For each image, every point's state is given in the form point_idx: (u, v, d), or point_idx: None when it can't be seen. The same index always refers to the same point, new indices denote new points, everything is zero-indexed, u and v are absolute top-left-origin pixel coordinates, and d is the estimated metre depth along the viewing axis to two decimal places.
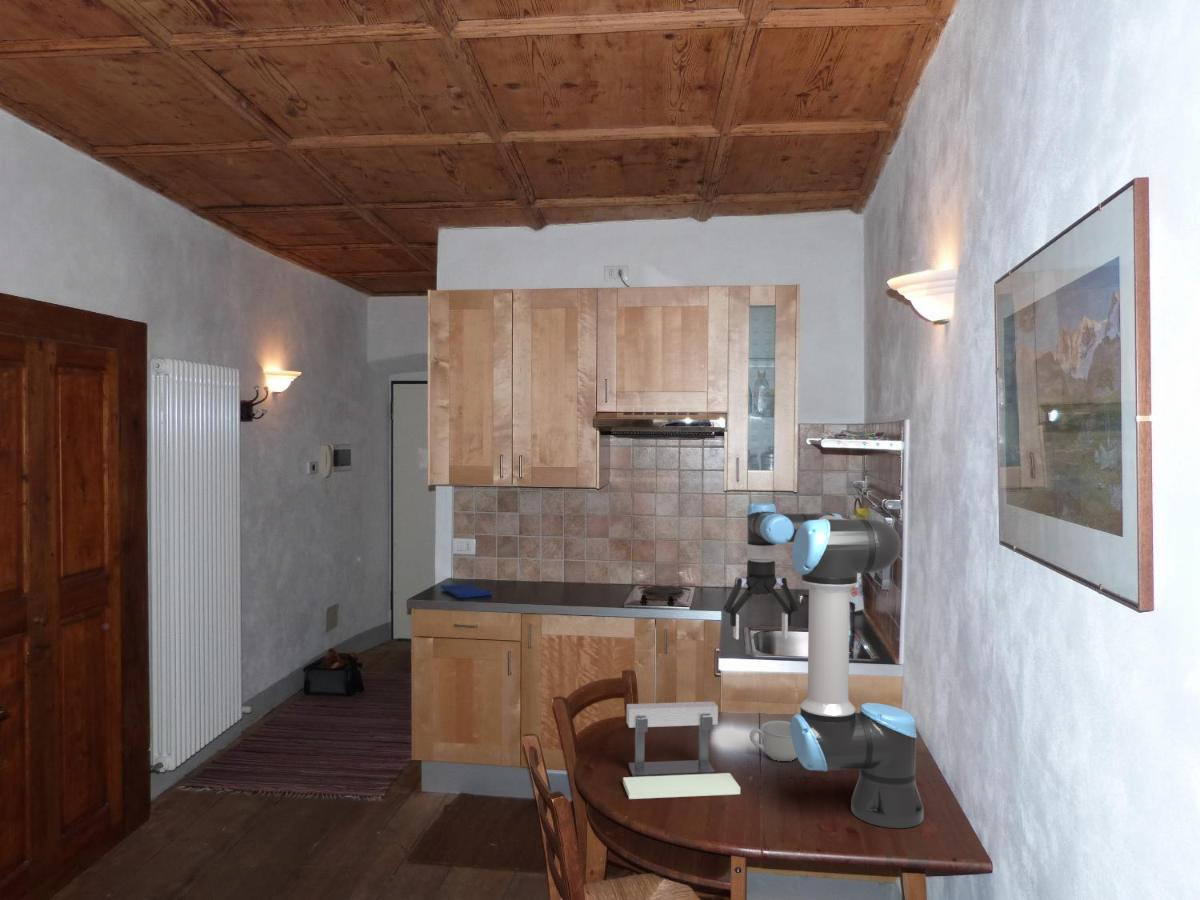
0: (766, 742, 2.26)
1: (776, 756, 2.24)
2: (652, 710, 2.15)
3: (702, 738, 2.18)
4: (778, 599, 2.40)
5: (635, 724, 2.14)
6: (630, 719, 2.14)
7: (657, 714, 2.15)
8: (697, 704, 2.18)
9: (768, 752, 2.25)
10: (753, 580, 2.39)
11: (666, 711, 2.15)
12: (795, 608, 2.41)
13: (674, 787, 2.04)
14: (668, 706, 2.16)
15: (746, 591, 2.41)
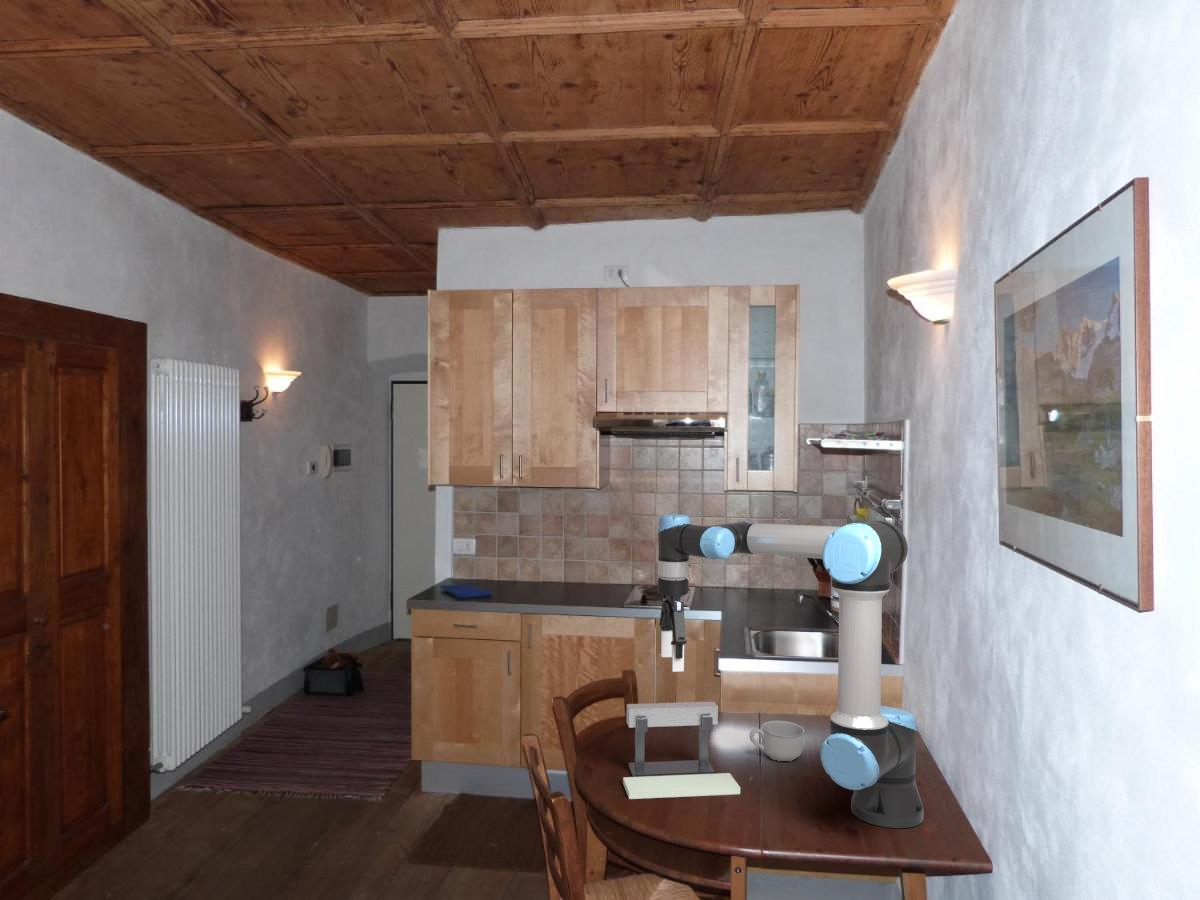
0: (766, 742, 2.26)
1: (776, 756, 2.24)
2: (652, 710, 2.15)
3: (702, 738, 2.18)
4: (671, 624, 2.13)
5: (635, 724, 2.14)
6: (630, 719, 2.14)
7: (657, 714, 2.15)
8: (697, 704, 2.18)
9: (768, 752, 2.25)
10: (666, 597, 2.20)
11: (666, 711, 2.15)
12: (675, 640, 2.08)
13: (674, 787, 2.04)
14: (668, 706, 2.16)
15: None
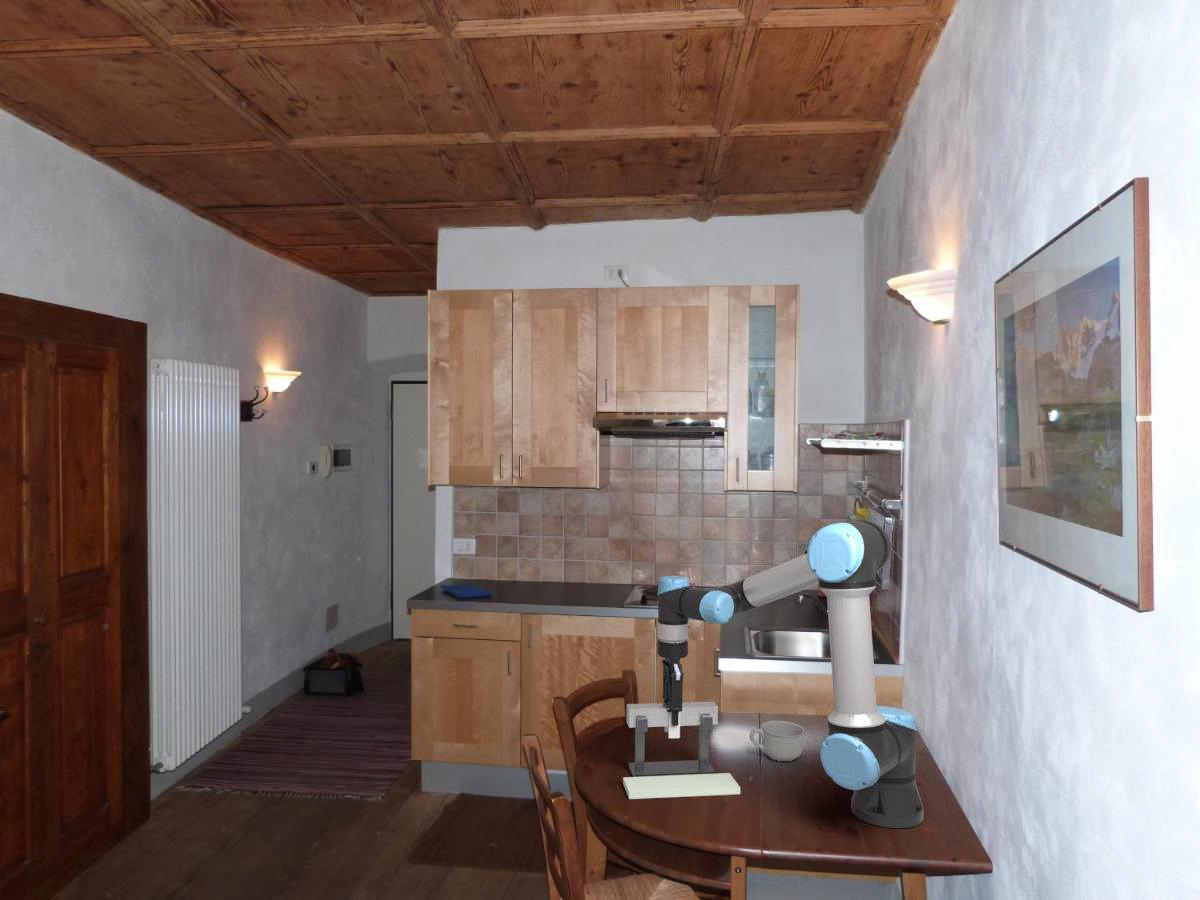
0: (766, 742, 2.26)
1: (776, 756, 2.24)
2: (652, 710, 2.15)
3: (702, 738, 2.18)
4: (669, 689, 2.15)
5: (635, 724, 2.14)
6: (630, 719, 2.14)
7: (657, 714, 2.15)
8: (697, 704, 2.18)
9: (768, 752, 2.25)
10: (666, 657, 2.20)
11: (666, 711, 2.15)
12: (671, 708, 2.12)
13: (674, 787, 2.04)
14: (668, 706, 2.16)
15: None
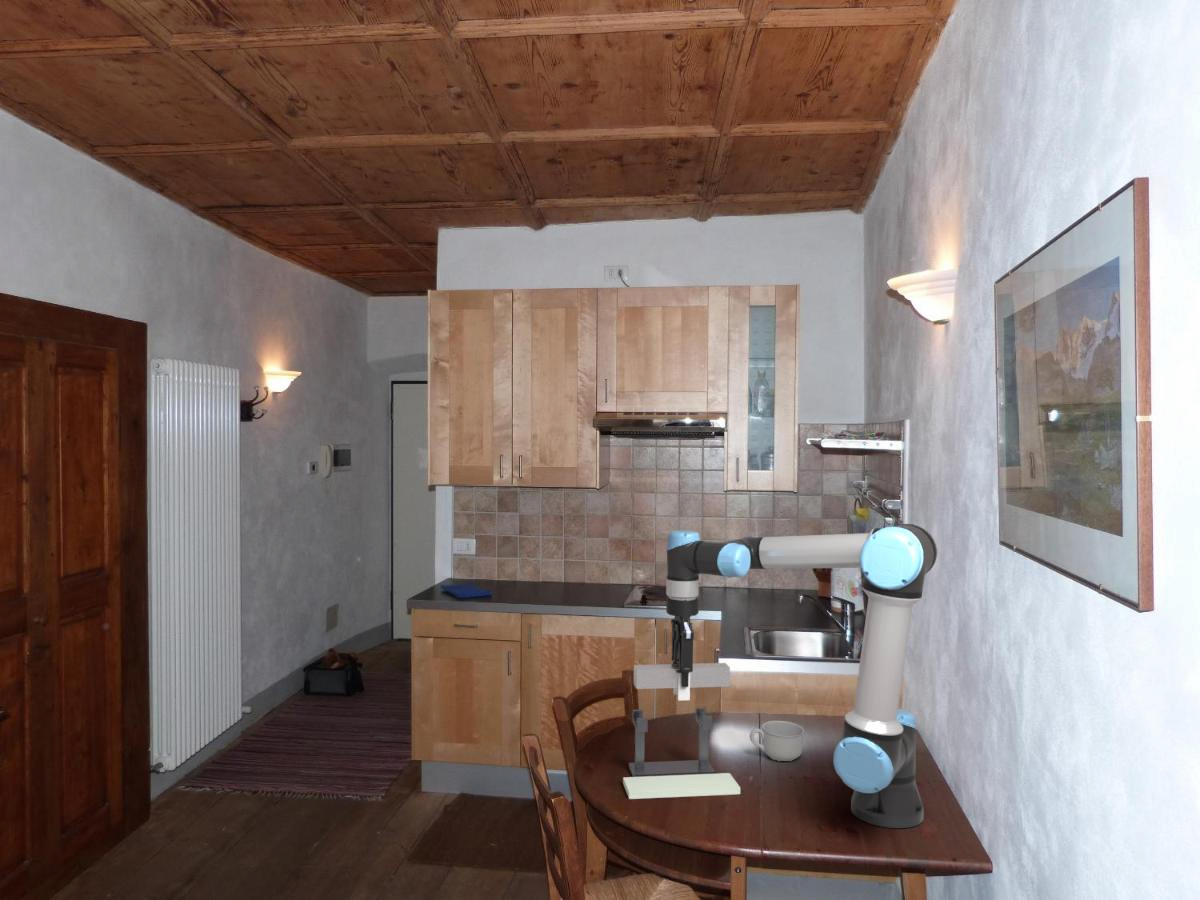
0: (766, 742, 2.26)
1: (776, 756, 2.24)
2: (661, 671, 2.04)
3: (702, 738, 2.18)
4: (678, 649, 2.05)
5: (643, 685, 2.04)
6: (637, 680, 2.04)
7: (665, 675, 2.05)
8: (708, 665, 2.08)
9: (768, 752, 2.25)
10: (675, 616, 2.09)
11: (675, 672, 2.05)
12: (681, 668, 2.02)
13: (674, 787, 2.04)
14: (677, 667, 2.06)
15: None
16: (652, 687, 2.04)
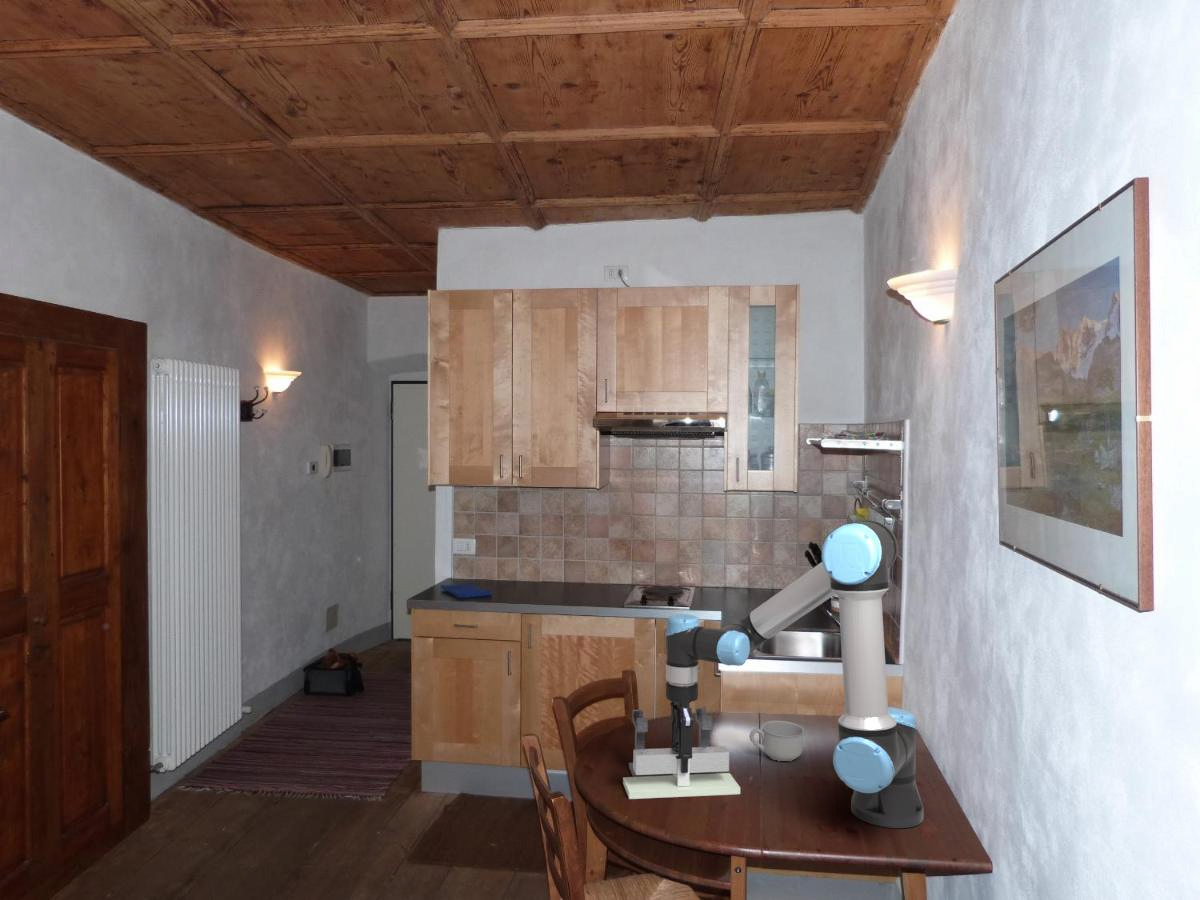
0: (766, 742, 2.26)
1: (776, 756, 2.24)
2: (660, 757, 2.05)
3: (702, 738, 2.18)
4: (678, 735, 2.05)
5: (642, 771, 2.04)
6: (637, 766, 2.04)
7: (665, 761, 2.05)
8: (707, 749, 2.08)
9: (768, 752, 2.25)
10: None
11: (675, 757, 2.05)
12: (680, 754, 2.02)
13: (674, 787, 2.04)
14: (676, 752, 2.06)
15: None
16: (651, 773, 2.04)
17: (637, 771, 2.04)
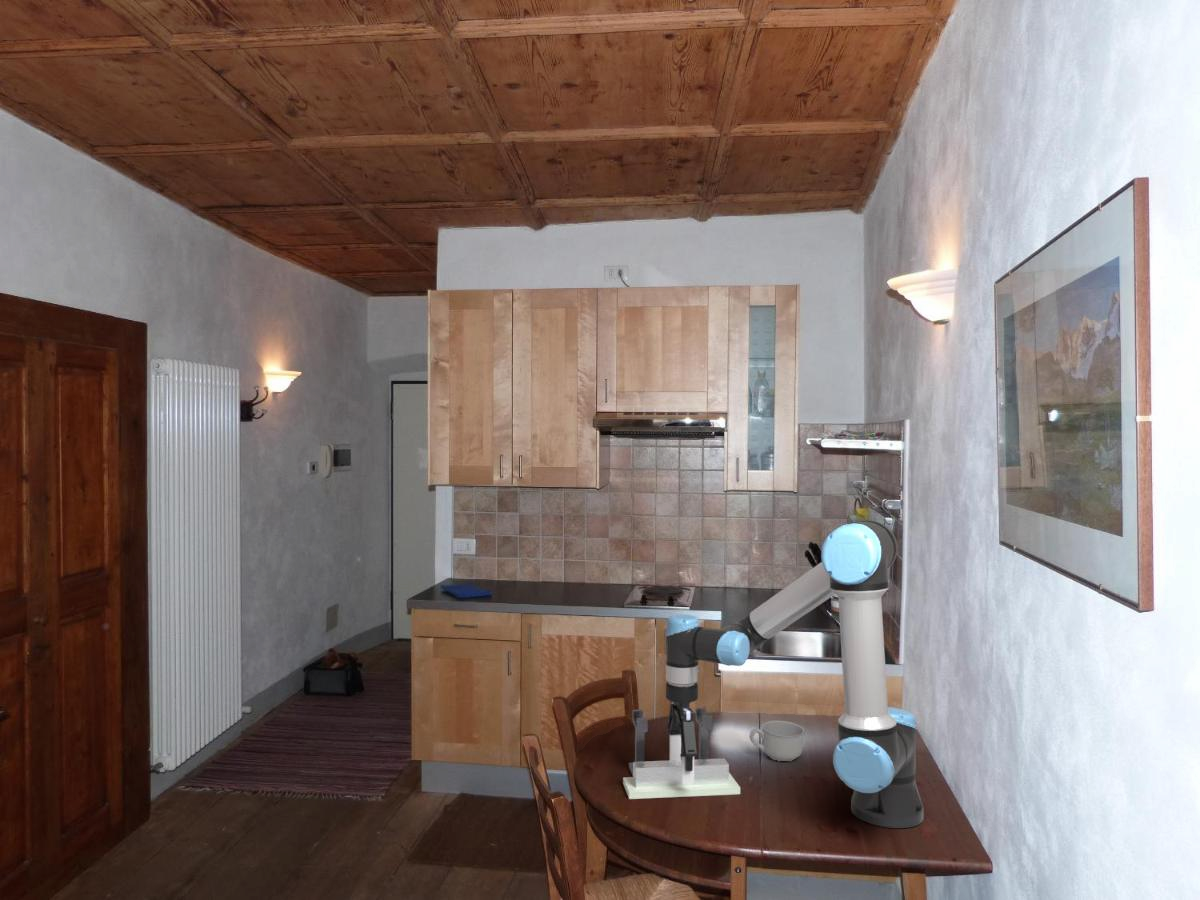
0: (766, 742, 2.26)
1: (776, 756, 2.24)
2: (660, 769, 2.05)
3: (702, 738, 2.18)
4: None
5: (642, 784, 2.04)
6: (637, 779, 2.04)
7: (665, 774, 2.05)
8: (707, 762, 2.08)
9: (768, 752, 2.25)
10: (674, 702, 2.09)
11: (675, 770, 2.05)
12: (685, 752, 1.98)
13: (674, 787, 2.04)
14: (676, 765, 2.06)
15: None
16: (651, 785, 2.05)
17: (637, 784, 2.04)
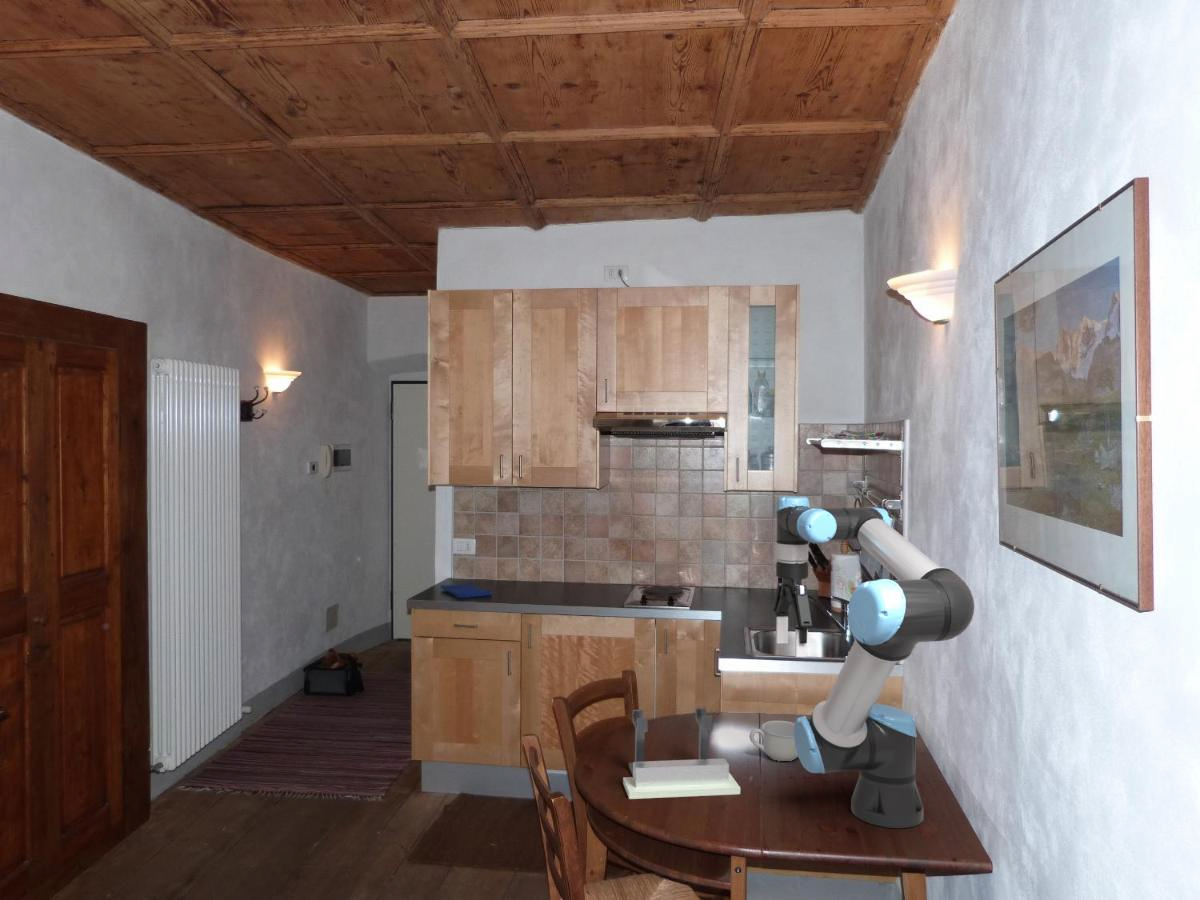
0: (766, 742, 2.26)
1: (776, 756, 2.24)
2: (660, 769, 2.05)
3: (702, 738, 2.18)
4: (793, 609, 2.07)
5: (642, 784, 2.04)
6: (637, 779, 2.04)
7: (665, 774, 2.05)
8: (707, 762, 2.08)
9: (768, 752, 2.25)
10: (784, 582, 2.14)
11: (675, 770, 2.05)
12: (800, 624, 2.02)
13: (674, 787, 2.04)
14: (676, 765, 2.06)
15: None
16: (651, 785, 2.05)
17: (637, 784, 2.04)
